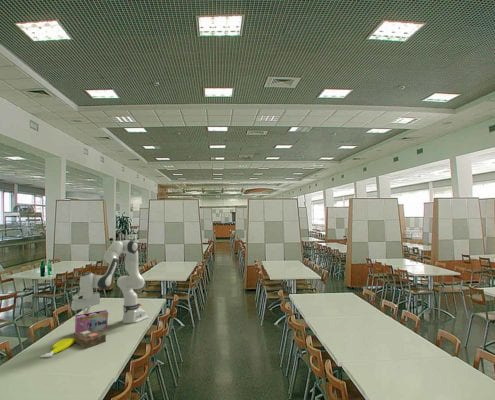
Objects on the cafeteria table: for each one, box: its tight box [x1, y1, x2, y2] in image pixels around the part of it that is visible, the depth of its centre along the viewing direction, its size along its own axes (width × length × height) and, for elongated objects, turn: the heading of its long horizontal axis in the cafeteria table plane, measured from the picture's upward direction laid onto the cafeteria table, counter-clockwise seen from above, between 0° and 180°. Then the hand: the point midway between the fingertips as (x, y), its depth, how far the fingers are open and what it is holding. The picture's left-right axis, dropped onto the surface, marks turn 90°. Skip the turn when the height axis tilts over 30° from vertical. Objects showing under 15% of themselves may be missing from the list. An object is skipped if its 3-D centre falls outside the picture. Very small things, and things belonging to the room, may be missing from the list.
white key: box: [80, 330, 91, 335], centre depth 227 cm, size 5×5×4 cm
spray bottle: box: [39, 337, 75, 358], centre depth 211 cm, size 3×11×24 cm
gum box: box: [74, 309, 109, 334], centre depth 247 cm, size 24×8×14 cm, turn 126°
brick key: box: [87, 333, 98, 338], centre depth 221 cm, size 5×5×4 cm
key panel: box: [71, 329, 107, 349], centre depth 224 cm, size 14×20×5 cm
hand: (86, 313), depth 228 cm, fingers closed
